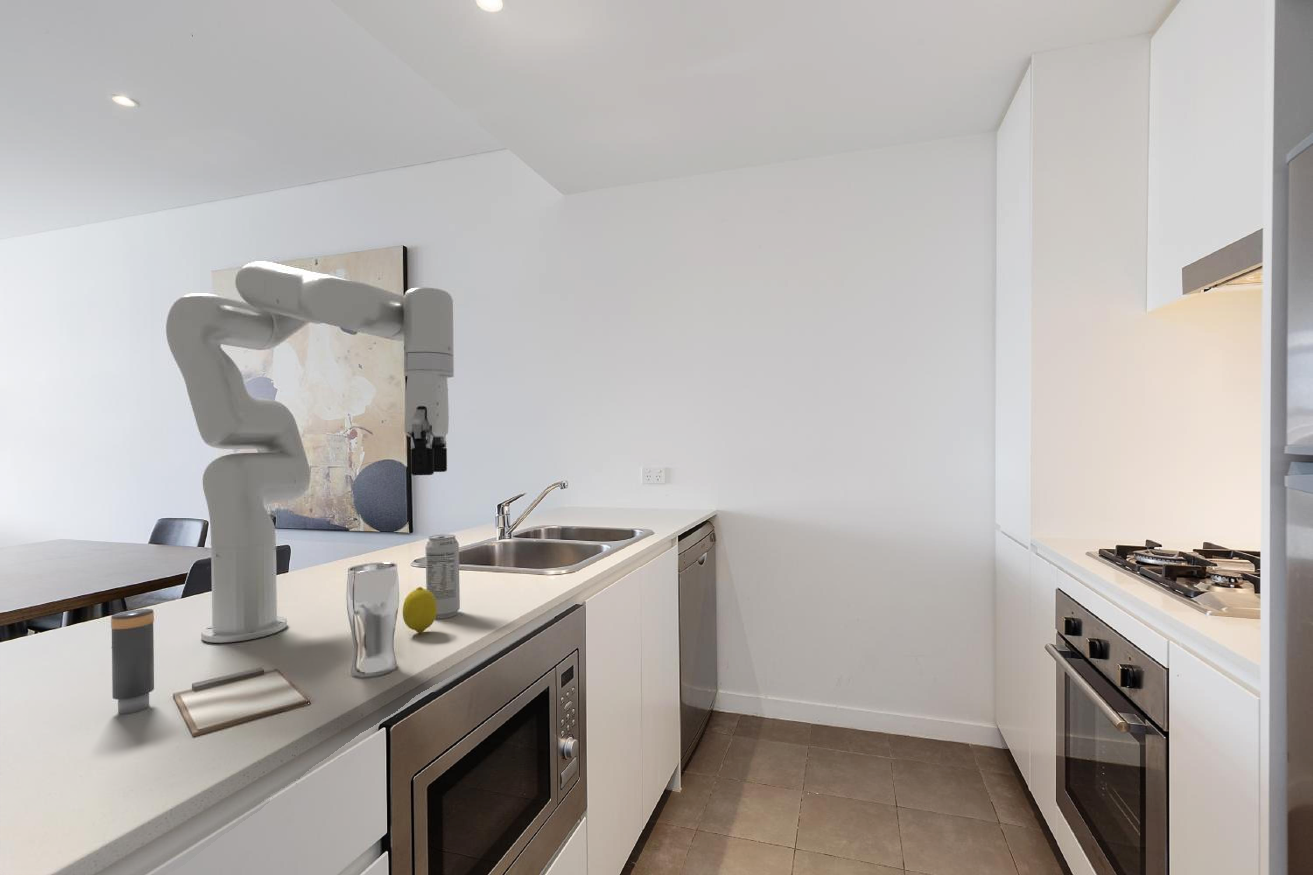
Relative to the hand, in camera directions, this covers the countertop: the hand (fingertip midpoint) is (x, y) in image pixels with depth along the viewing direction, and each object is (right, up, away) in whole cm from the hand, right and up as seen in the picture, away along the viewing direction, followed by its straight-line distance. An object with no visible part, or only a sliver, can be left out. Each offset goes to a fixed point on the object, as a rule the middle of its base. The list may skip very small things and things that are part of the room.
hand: (430, 473), depth 99 cm
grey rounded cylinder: (-29, -28, -21) cm, 46 cm away
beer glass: (-5, -28, -10) cm, 30 cm away
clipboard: (-17, -28, -19) cm, 38 cm away
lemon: (-4, -28, +7) cm, 30 cm away
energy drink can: (-4, -28, +19) cm, 34 cm away
